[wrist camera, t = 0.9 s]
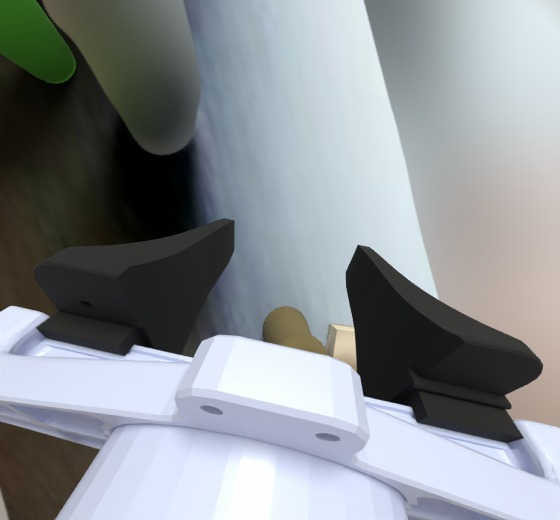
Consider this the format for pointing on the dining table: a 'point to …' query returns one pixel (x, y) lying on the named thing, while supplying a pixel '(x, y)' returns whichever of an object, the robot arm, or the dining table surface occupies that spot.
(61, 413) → the robot arm
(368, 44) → the dining table surface
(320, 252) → the dining table surface
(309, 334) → the cork
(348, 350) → the birch riser block
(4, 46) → the cup
